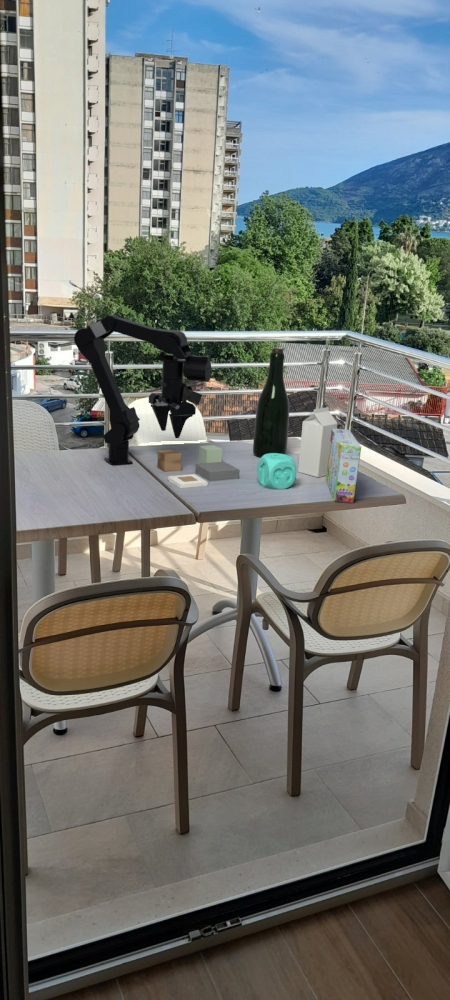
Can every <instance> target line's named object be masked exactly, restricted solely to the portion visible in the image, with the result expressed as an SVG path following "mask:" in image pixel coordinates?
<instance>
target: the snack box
mask: <svg viewBox="0 0 450 1000" xmlns="http://www.w3.org/2000/svg"><path fill="white" fill-rule="evenodd" d="M361 451H362V446H361V445H360V442H358V440H357V438H356V437H355V436H354V435H353V433H352V431H351V430H350V429H344V428H337V429H332V430H331V440H330V448H329V457H328V465H327V473H326V475H325V481H326V483H327V486H328V488H329V491H330V494H331V495H332V498H333V501H334V502H337V503H349V504H354V501H355V493H356V487H357V481H358V472H359V467H360V458H361V453H362V452H361Z"/></svg>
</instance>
